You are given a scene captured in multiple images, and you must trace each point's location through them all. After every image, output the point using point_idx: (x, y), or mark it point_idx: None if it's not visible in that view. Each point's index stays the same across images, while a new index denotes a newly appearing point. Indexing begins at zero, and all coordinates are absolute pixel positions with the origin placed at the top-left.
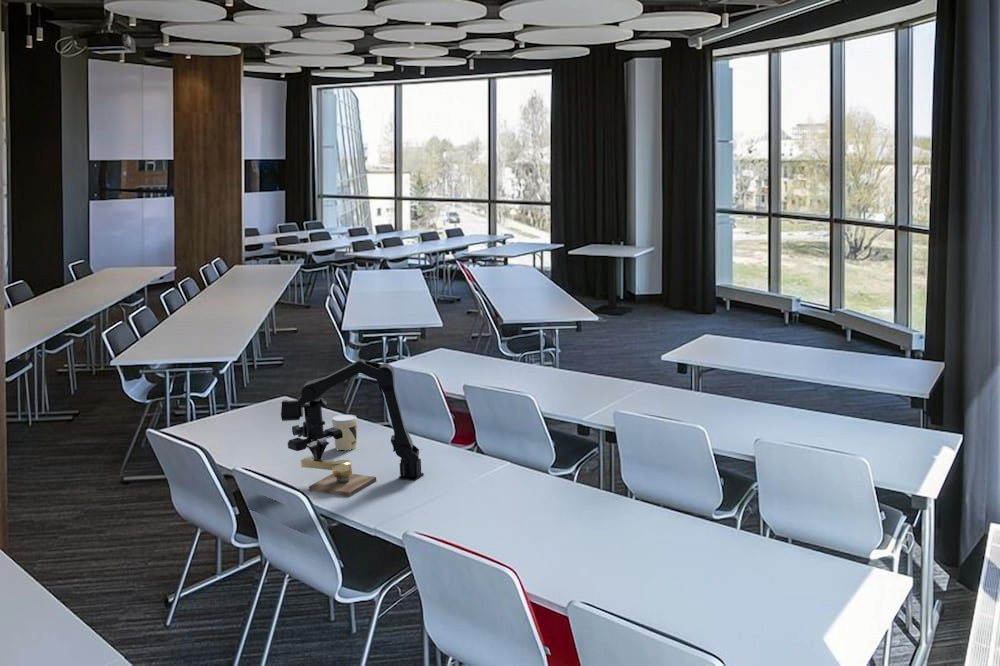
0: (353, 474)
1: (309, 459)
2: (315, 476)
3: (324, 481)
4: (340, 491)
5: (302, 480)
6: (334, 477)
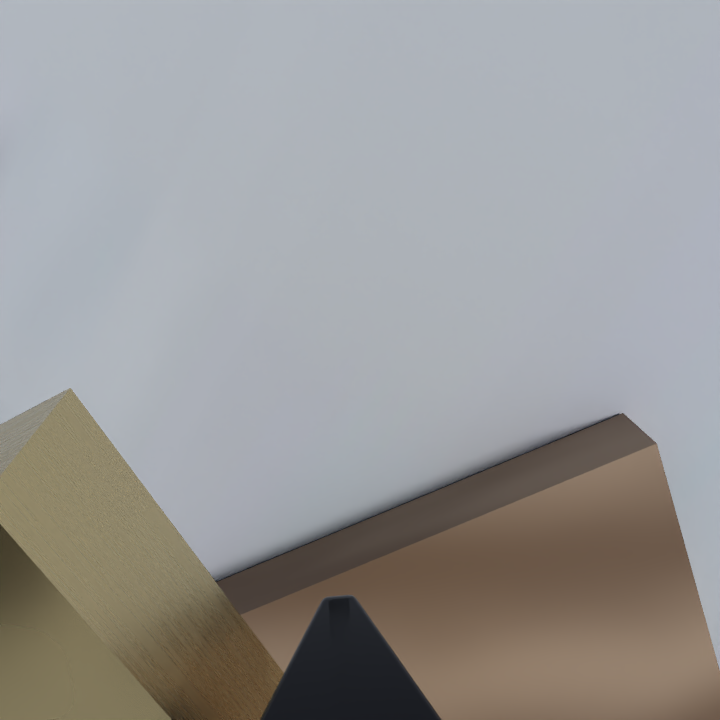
0: (700, 686)
1: (78, 717)
2: (391, 197)
3: None
4: None
5: (117, 217)
6: (460, 638)
